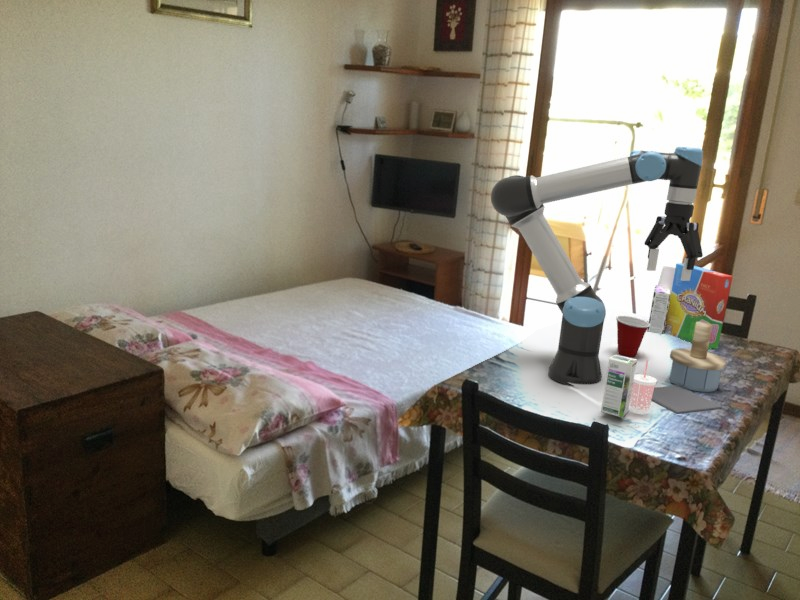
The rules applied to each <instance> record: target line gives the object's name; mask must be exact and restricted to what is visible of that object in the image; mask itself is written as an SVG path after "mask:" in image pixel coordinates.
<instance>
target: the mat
mask: <svg viewBox="0 0 800 600" xmlns="http://www.w3.org/2000/svg"><path fill="white" fill-rule="evenodd" d="M651 402H654V403H655V404H658V405H659V406H661V407H663V408H665V409H667V410H669V411H670V412H673V413H675V414H676V415H677V414H678V415H679V414H688V413H695V412H696V413H697V412H702V411H703V412H704V411H712V410H720V409H721V410H722V409H723V406H722V405H720V404H718V403H716V402H714V401H711V400H709V399H707V398H705V397H703V396H702V395H699V394H697V393H695V392H694V391H692V390H688V389H685V388H682V387H680V386H678V385H666V386H657V387H654V391H653V395H652V399H651Z"/></svg>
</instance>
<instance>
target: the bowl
mask: <svg viewBox="0 0 800 600" xmlns="http://www.w3.org/2000/svg"><path fill="white" fill-rule="evenodd" d="M722 370H723V369H721V370H703V369H697V368H692V367H688V366H685V365H682V364H679V363H677V362H675V361H673V360H672V363H671V368H670V374H669V382H670V383H672V385H673V386H675V385H678V386H680V387H682V388H685V389H687V390H689V391H691V392H698V393H712V392H715V391H717V390H718V388H719V384H720V379H721V376H722V375H721V373H722Z"/></svg>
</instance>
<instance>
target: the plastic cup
mask: <svg viewBox="0 0 800 600" xmlns="http://www.w3.org/2000/svg"><path fill="white" fill-rule="evenodd" d="M615 319H616V326H617V327H616V328H617V353H618V354H617V355H620V356H624V357H628V358H635V357H637V355H638V352H639V349H640V347H641V344H642V342H643V339H644V337H645V334H646V332H647V330H648V327H650V324H649V321H646V320H645V319H641V318H638V317H635V316H634V317H633V316H629V315H618V316H616V318H615Z"/></svg>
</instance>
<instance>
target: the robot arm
mask: <svg viewBox="0 0 800 600" xmlns="http://www.w3.org/2000/svg"><path fill="white" fill-rule="evenodd" d="M629 153H630V154H629V156H626V157H622V158H617V159H613V160H607V161H605V162H600V163H595V164H591V165H587V166H582V167H577V168H573V169H570V170H569V169H568V170H565V171H560V172H556V173H552V174H547V175H543V176H539V177H536V176H534V175H527V176H524V175H519V174H518V175H511V176H507V177H504V178H502V179H500V180H499V181H497V182H496V183H495V185H494V186H493V187H492V189H491V192H490V201H491V202H490V203H491V205H492V208H493V209H494V210H495V211H496V212H497V213H498V214H499V215H502V216H504V217H505V218H506V220H507V222H508V224H509V225H510V227H512V228H516V229H518V231H519V232H520V234H521V236H522V238H523V239H524V241H525V243H526V245H527V246H528V248H529V250H530V251H531V253H532V254H533V256H534V258H535V259H536V261H537V263H538V265H539V266H540V269H541V270H542V271H543V274H544V275H545V276H546V278H547V280H548V282H549V283H550V285H551V287H552V288H553V290H554V292H555V293H556V295H557V296H556V300H555V303H556V305H557V307H558V309H559V310H560V312H561V314H562V318H561V325H560V330H559V331H560V332H559V339H558V347H557V351H556V352H555V356H554V358H553V360H552V362H551V363H550V365H549V366H548V368H549V369H548V376H549V378H551V379H552V380H554V381H556V382H558V383H561V384H563V385H567V386H571V387H574V385H575V384H577V385H594V384H598V383H601V381H602V377H603V374H602V370H601V363H600V358H599V355H600V349H601V341H602V335H603V329H604V322H605V319H606V305H605V303H604V302H603V300H602V299H601V298H600V296H598V295H597V294H596V291H595V290H594V288H592V286H591V283H588V282H585V281H583V280H582V278H581V277H580V274H579V273H578V272H577V269H576V268H575V266H574V264H573V262H572V261H571V260H570V258H569V256H568V254H567V253H566V251H565V249H564V247H563V246H562V244H561V242H560V241H559V240H558V238H557V235H556V234H555V232H554V231H553V229H552V227H551V226H550V224H549V222H548V220H547V219H546V217H545V215H544V210H545V205H544V204H548V203H551V202H553V203H554V202H557V201H562V200H565V199H570V198H571V199H572V198H575V197H580V196H583V195H588V194H592V193H593V194H594V193H598V192H602V191H607V190H611V189H615V188H616V189H617V188H622V187H625V186H630V185H636V184H640V183H645V182H654V181H657V180H664V181H669V185H668V186H669V187H668V190H667V191H668V192H667V195H666V200H667V202H666V203H665V208H664V216H659V215H657V217H656V220H655V223H654V225H653V227H652V229H651V230H650V231H649V234H648V235H647V237H646V239H645V241H644V243H643V244H644V246H647V247H648V254H647V259H648V260H647V261H648V262H647V267H646V271H650V272H652V271H656V270H657V265H658V258H659V257H658V256H659V252H660V248H659V247H660V245H661V244H662V243H663V242H664V241H665V240H666V239H667V238H668V237H669V235H673V236H677V238H679V240H680V242H681V244H682V247H683V249H684V250H683V251H684V252H685V255H686V256H685V257H684V260H683V263H684V264H683V270H682V275H681V280H682V281H690V277H691V271H692V270H693V269H694V266H695V263H696V259H698V258H703V256H704V255H703V249H702V244H701V239H700V235H699V223H698V222H690V221H691V220H690V219H691V218H692V217H693V215H694V209H695V205H694V203H695V202H696V196H697V191H698V186H699V180H700V176H701V173H702V172H701V171H702V167H703V158H704V151H703V149H701V148H699V147H688V146H687V147H685V146H684V147H683V146H676V148H675V150H674V152H673V153H672V152H669V153H667V152H658V151H653V150H651V151H648V150H632V151H631V152H629Z"/></svg>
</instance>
